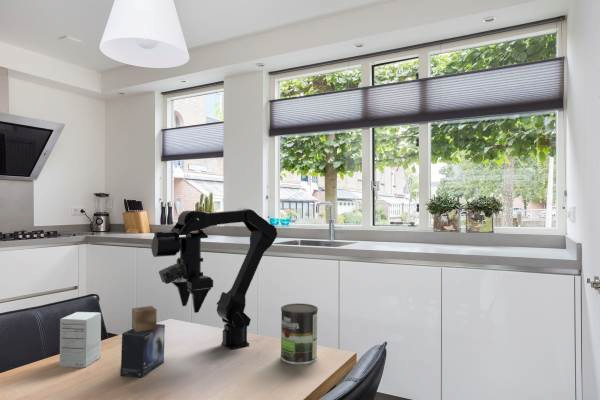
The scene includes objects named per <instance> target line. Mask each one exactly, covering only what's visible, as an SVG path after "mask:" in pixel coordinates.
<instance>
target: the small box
mask: <svg viewBox="0 0 600 400" xmlns="http://www.w3.org/2000/svg"><path fill="white" fill-rule="evenodd" d="M165 328H166V325H165V324H162V323H161V324H160V323H156V329H154V330H148V331H141V332H135V331H134V329H133V328H131V329H129V330H126V331H125V332H123V333H121V351H120V353H121V357H120V359H121V360H120V373H119V374H120V376H128V377H134V378H143V377H145V376H146V375H147V374H149V373H150V372H152V371H153V370H155V369H156V368H158V367H159V366H161V365H162V364H163V363H164V362H165V333H166V329H165Z"/></svg>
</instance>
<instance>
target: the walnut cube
mask: <svg viewBox="0 0 600 400" xmlns="http://www.w3.org/2000/svg"><path fill="white" fill-rule="evenodd" d="M157 310H158V309H156V308H155V307H154V306H153V305H147V306H146V305H145V306H140V307H132V308H131V329H134V331H135V332H141V331H148V330H154V329H156V324H157V313H158V312H157Z"/></svg>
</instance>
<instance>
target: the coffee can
mask: <svg viewBox="0 0 600 400" xmlns="http://www.w3.org/2000/svg"><path fill="white" fill-rule="evenodd" d="M280 311H281V332H280V333H281V334H280V335H281V336H280V338H281V339H280V340H281V341H280V344H281V345H280V360H281V361H282V362H284V363H286V364H289V365H293V366H294V365H296V366H297V365H298V366H303V365H305V366H306V365H310V364H312V363H314V362H316V361H317V359H318V357H317V356H318V355H317V354H318V311H319V308H318V306H317V305H313V304H310V303H289V304H285V305H282V306H281V307H280Z"/></svg>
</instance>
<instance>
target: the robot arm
mask: <svg viewBox="0 0 600 400" xmlns="http://www.w3.org/2000/svg"><path fill="white" fill-rule="evenodd" d="M235 223H237V224H238V223H243V224H244V225H245V227H246V230H248V231H249V232H250V236H249V248H248V250H247V253H246V256H245V257H244V259H243V262H242V264H241V265H240V268H239V271H238V272H237V275H236V278H235V280H234V282H233V284H232V286H231V288H230V289H229V290H228V292H224V291H222V292H221V294H220V296H219V300H218V301H217V302H216V305H217V306H216V313H217V315H218V317H219V318H221V321H222V322H223V323H225V324H224V325H223V330H222V341H221V344H223V345H224V346H225V347H227V348H228V349H231V350H232V349H237V348H241V347H246V346H249V345H250V342H248V327H249V326H250V324H251V320H252V319H251V318H250V317H249V316H248V315H247V314H246V313H245V309H246V295H247V292H248V290H249V288H250V285H251V283H252V281H253V278H254V276H255V274H256V273H257V270H258V266H259V264H260V262H261V260H262V258H263V255H264V254H265V253H266V252H267V251H268V249H270V248H271V246H273V243H274V242H275V240H276V238H277V237H278V231H277V230H278V229H277V227H276V226H275V225H274V224H272V223H269V221H267V220H266V219H265V218H263V217H262V216H260V215H259V214H258V213H256V211H255V210H253V209H251V208H243V209H238V210H228V211H227V210H226V211H225V210H224V211H217V212H216V211H214V212H207V211H200V210H185V211H182V212H180V214H179V215H178V217H177V222H176V223H175V224H174V226H173V227H172V229H171V230H170V231H165V232H162V231H155V232H153V233H154V236H153V238H152V241H151V244H150V245H151V246H150V247H151V248H150V249H151V254H152V256H153V257H154V258H160V257H173V256H177V254H178V253H179V257H177V259H176V263H175V264H172V265H170V266H167V267H164V268H163V269H161V270H158V274H159V277H160V280H161V282H162V283H164V284H166V285H167V284H168V285H169V284H172V285H174V287H176V288H177V291H178V294H179V299H180V302H181V305H182V307H187V305H188V302H189V298H190V295H191V298H192V306H193V312H194V313H195V314H196V313H197V314H198V313H199V311H200V309H201V308H202V306H203V303H204V301H205V300H206V297H207V295H208V293H209V292H210V291H211V290H212V288H214V280H213V279H212V277H210V276H207V275H204V272H203V271H201V269H202V266H201V264H202V263H203V262H204V258H203V257H202V256H201V255H202V254H201V253H202V251H201V248H202V245H201V243H202V242H201V241H202V239H208V238H209V235H208V234H206V233H205V232H204V230H203V229H207V228H209V227H211V226H212V227H213V226H217V225H218V226H219V225H226V224H227V225H228V224H235ZM201 262H202V263H201Z"/></svg>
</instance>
